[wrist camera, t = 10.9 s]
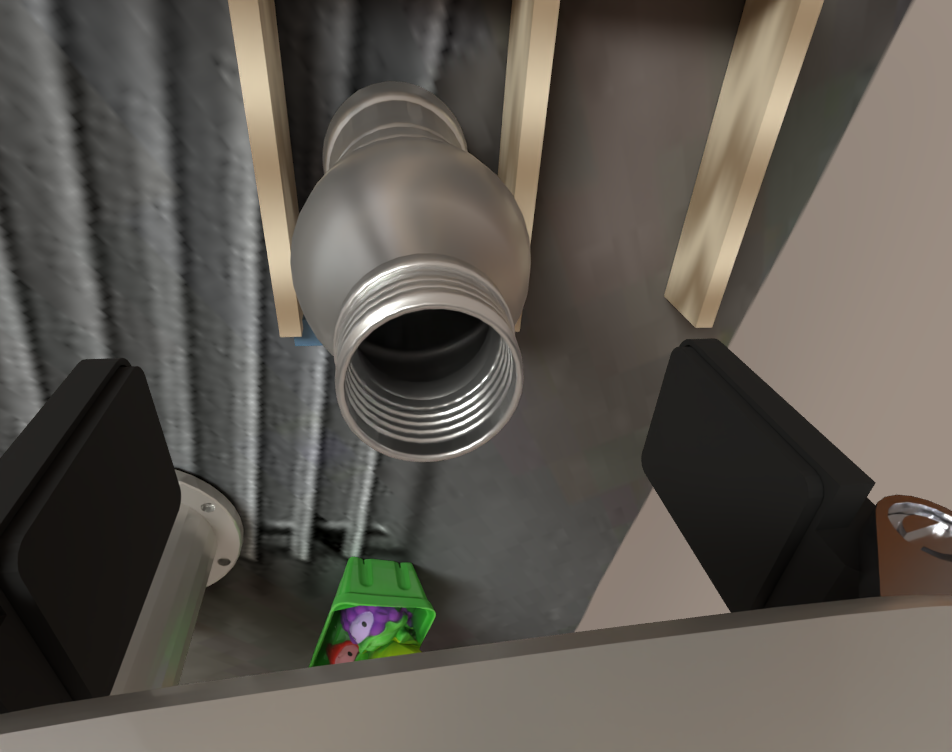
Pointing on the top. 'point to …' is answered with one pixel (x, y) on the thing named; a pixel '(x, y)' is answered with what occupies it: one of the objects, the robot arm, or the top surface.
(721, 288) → the divider rack
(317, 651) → the fruit basket
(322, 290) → the plastic bottle
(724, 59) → the top surface
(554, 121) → the top surface
